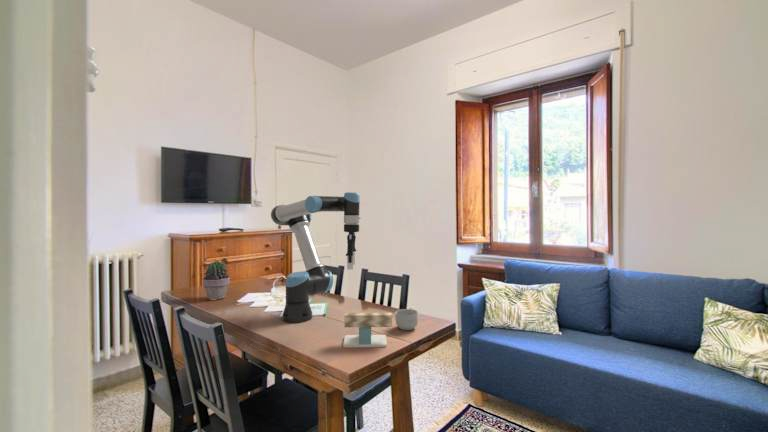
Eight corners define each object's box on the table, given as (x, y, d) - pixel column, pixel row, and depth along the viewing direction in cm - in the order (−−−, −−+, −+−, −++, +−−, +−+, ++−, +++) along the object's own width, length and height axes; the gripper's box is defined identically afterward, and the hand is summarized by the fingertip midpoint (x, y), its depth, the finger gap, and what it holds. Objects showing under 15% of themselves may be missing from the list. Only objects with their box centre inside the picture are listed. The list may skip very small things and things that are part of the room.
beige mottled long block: (344, 327, 146) (344, 315, 146) (345, 324, 150) (345, 313, 150) (391, 326, 147) (391, 315, 147) (391, 324, 150) (391, 312, 150)
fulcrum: (343, 347, 143) (343, 330, 143) (345, 337, 154) (345, 321, 154) (386, 346, 143) (386, 330, 143) (385, 337, 154) (385, 321, 154)
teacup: (411, 333, 158) (411, 316, 158) (390, 329, 164) (390, 312, 164) (424, 325, 170) (424, 308, 170) (404, 321, 176) (404, 305, 176)
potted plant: (191, 302, 210) (191, 261, 210) (212, 294, 230) (212, 256, 229) (218, 303, 207) (218, 262, 207) (237, 295, 227) (237, 257, 226)
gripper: (357, 225, 159) (357, 271, 159) (360, 222, 183) (359, 262, 184) (341, 225, 158) (340, 271, 159) (346, 222, 183) (345, 262, 184)
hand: (351, 266), depth 172 cm, fingers open, 13 cm apart
